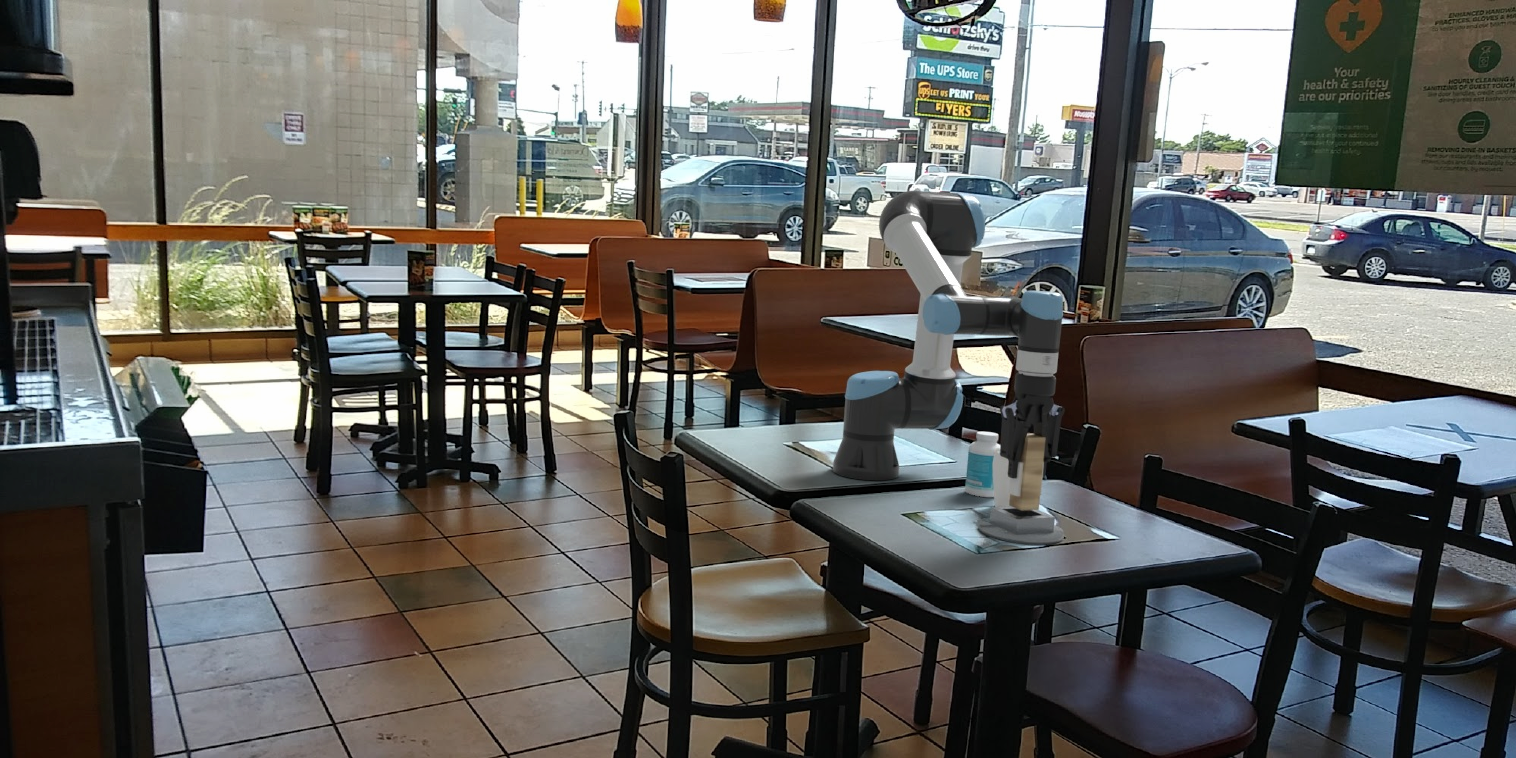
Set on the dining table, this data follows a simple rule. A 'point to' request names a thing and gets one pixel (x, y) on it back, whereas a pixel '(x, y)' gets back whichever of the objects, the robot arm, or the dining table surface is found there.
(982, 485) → the pill bottle
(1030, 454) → the tan wooden block
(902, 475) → the dining table surface
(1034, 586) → the dining table surface
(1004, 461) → the cup
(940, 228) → the robot arm
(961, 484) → the dining table surface
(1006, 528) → the square tray on disc
